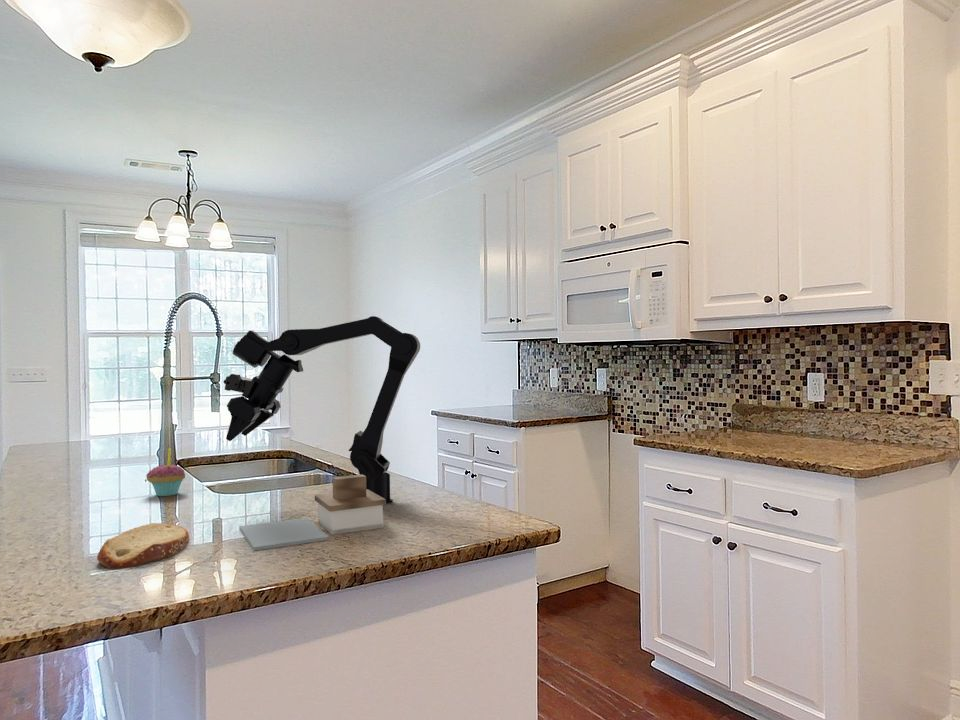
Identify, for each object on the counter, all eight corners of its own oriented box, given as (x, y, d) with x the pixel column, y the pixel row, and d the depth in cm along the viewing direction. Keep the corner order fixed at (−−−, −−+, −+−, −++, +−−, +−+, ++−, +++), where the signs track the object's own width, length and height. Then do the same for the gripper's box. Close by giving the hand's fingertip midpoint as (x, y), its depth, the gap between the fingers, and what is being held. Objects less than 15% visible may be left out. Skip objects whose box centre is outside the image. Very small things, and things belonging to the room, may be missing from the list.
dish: (366, 516, 139) (366, 494, 139) (383, 527, 130) (382, 504, 130) (318, 522, 134) (317, 500, 134) (331, 534, 126) (331, 510, 125)
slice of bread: (170, 531, 131) (170, 512, 131) (219, 548, 119) (219, 527, 119) (68, 553, 117) (67, 531, 117) (112, 574, 105) (111, 551, 105)
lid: (367, 494, 140) (367, 469, 140) (386, 504, 130) (385, 478, 130) (314, 500, 134) (314, 475, 134) (329, 511, 125) (329, 484, 125)
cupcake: (193, 492, 165) (192, 443, 164) (160, 499, 157) (159, 448, 157) (172, 489, 169) (171, 441, 169) (139, 495, 162) (138, 445, 162)
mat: (306, 520, 136) (306, 517, 136) (328, 539, 122) (328, 536, 122) (239, 529, 130) (239, 526, 130) (253, 550, 116) (253, 547, 116)
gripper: (256, 359, 162) (222, 414, 162) (225, 360, 143) (187, 422, 143) (295, 384, 162) (261, 439, 162) (270, 388, 143) (231, 450, 143)
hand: (235, 437), depth 153 cm, fingers open, 9 cm apart
